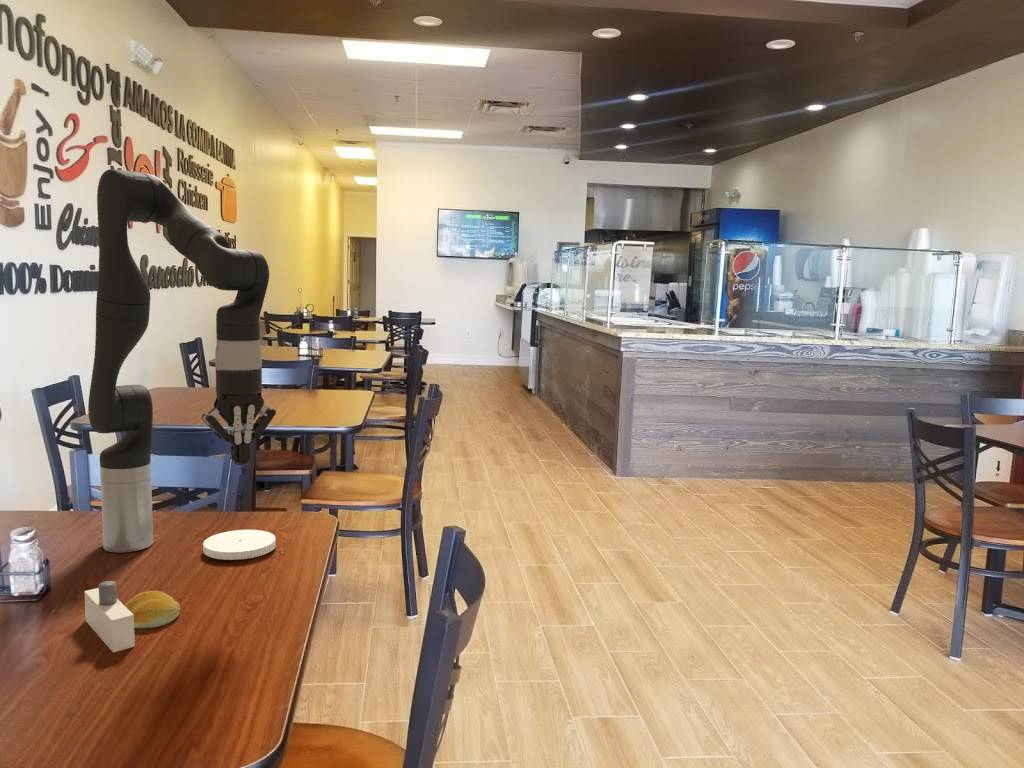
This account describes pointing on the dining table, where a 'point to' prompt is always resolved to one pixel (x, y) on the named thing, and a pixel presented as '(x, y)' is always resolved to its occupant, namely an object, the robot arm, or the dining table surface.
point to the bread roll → (152, 609)
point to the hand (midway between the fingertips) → (240, 463)
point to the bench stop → (109, 617)
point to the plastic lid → (239, 544)
